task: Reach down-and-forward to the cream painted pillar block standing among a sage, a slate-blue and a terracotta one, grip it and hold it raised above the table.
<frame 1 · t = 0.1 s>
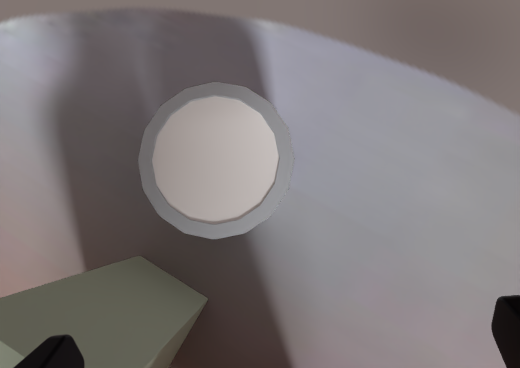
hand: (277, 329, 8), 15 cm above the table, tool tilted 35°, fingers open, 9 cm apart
sage block: (152, 312, 24), on the table
shot glass: (238, 173, 24), on the table
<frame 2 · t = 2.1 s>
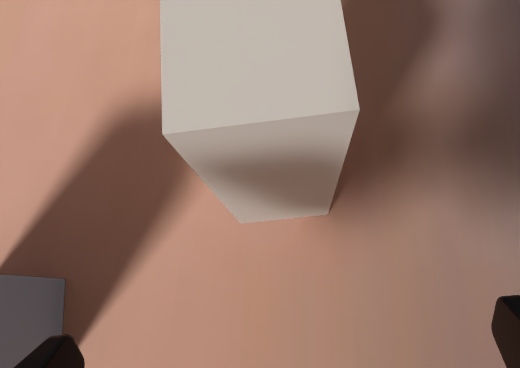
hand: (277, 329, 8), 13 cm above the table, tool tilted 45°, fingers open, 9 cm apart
slate-blue block: (20, 328, 22), on the table
cream block: (279, 177, 23), on the table
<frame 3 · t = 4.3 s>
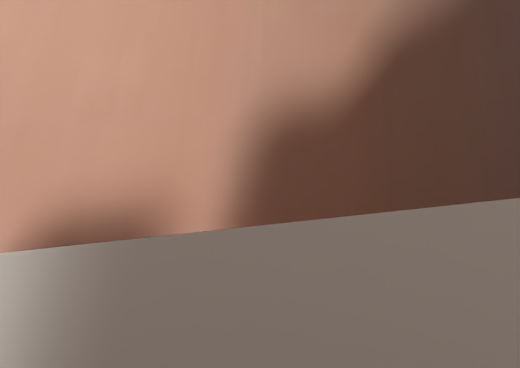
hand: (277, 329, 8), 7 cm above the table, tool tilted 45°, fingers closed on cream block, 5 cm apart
cream block: (292, 354, 14), on the table, touching gripper
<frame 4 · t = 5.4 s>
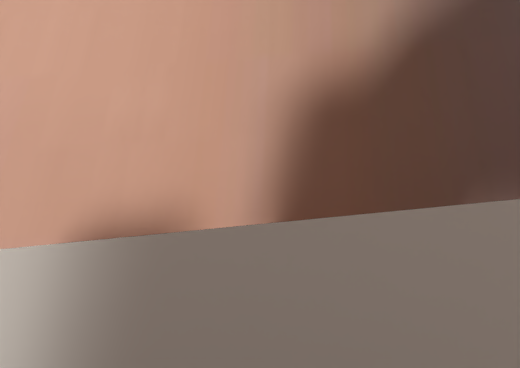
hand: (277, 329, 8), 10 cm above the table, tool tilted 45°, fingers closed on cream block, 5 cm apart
cream block: (293, 354, 14), point 3 cm above the table, touching gripper
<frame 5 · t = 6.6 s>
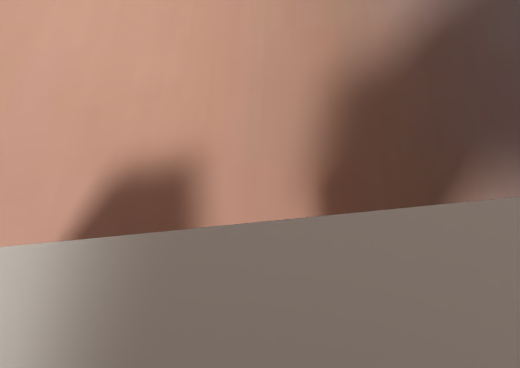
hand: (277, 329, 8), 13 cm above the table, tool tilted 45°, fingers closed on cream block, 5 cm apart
cream block: (293, 354, 14), point 7 cm above the table, touching gripper
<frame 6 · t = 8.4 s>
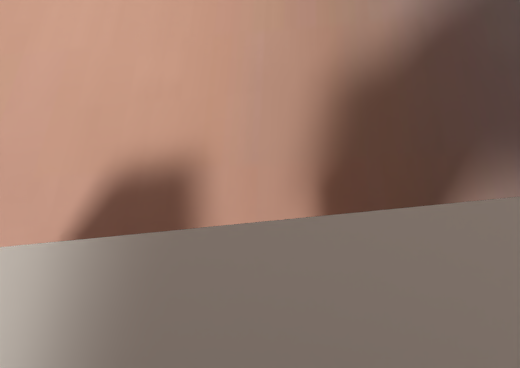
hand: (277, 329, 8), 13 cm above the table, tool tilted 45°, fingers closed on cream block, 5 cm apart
cream block: (294, 354, 14), point 7 cm above the table, touching gripper
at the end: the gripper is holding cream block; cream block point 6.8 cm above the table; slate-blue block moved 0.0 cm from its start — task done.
